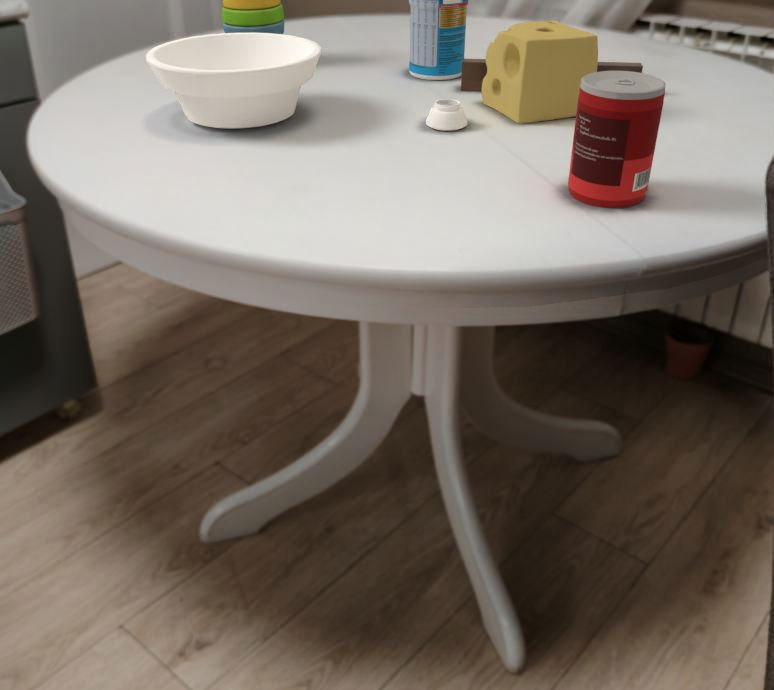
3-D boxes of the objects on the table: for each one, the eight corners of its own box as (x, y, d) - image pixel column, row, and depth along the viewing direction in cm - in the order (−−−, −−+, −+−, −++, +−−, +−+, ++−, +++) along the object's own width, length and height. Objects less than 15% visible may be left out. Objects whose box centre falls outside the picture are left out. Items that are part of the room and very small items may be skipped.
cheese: (480, 104, 106) (484, 24, 101) (551, 96, 109) (559, 17, 104) (517, 126, 98) (525, 40, 93) (593, 117, 101) (605, 33, 96)
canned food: (639, 180, 83) (658, 70, 77) (652, 211, 76) (674, 93, 70) (563, 178, 83) (576, 69, 77) (570, 208, 77) (585, 91, 71)
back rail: (636, 92, 111) (640, 62, 109) (638, 96, 109) (643, 66, 107) (461, 87, 113) (462, 58, 111) (460, 91, 112) (462, 61, 109)
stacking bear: (267, 74, 120) (256, -59, 110) (212, 67, 124) (196, -62, 114) (304, 59, 128) (297, -66, 118) (251, 53, 132) (240, -69, 122)
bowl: (346, 100, 108) (344, 36, 104) (288, 151, 91) (283, 77, 86) (203, 90, 113) (195, 28, 108) (123, 136, 96) (110, 65, 91)
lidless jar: (474, 130, 97) (456, 118, 101) (475, 105, 95) (457, 94, 99) (436, 135, 96) (419, 123, 99) (436, 110, 94) (420, 99, 98)
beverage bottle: (402, 80, 117) (403, -75, 106) (414, 66, 124) (416, -81, 113) (459, 83, 115) (467, -74, 104) (469, 69, 122) (476, -80, 111)
